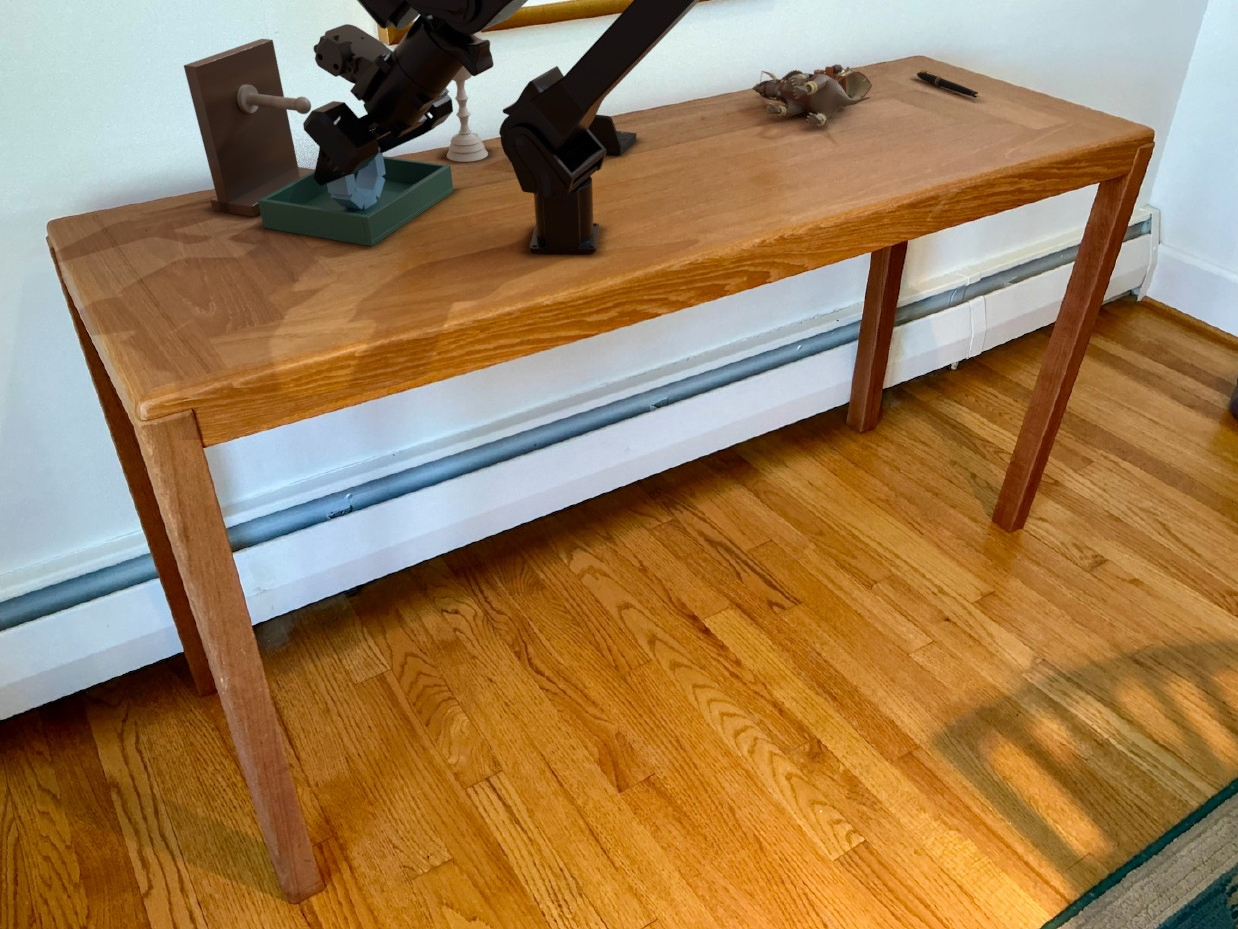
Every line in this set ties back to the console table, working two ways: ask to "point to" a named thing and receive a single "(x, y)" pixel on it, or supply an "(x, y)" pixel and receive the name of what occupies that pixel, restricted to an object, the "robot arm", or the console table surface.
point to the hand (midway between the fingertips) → (344, 167)
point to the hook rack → (245, 125)
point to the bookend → (611, 135)
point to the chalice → (465, 126)
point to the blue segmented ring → (360, 186)
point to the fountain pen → (946, 83)
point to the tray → (323, 217)
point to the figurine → (815, 92)
